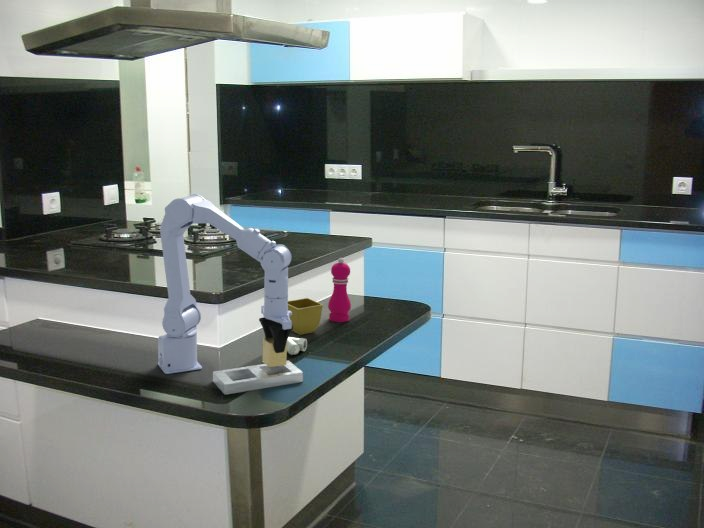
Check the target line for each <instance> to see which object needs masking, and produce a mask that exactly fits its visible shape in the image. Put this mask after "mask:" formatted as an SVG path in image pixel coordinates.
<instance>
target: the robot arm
mask: <svg viewBox="0 0 704 528" xmlns="http://www.w3.org/2000/svg"><path fill="white" fill-rule="evenodd" d="M193 224H194V225H195V224H209V225H210V226H212V227H214V228H215V229H217V230H219V231H221V232H222V233H223V234H225V235H227V236H228V237H230V238H232V239H234V240H235V241H236V244H237V245H236V246H237V248H238V249H239V250H241V251H242V252H244V253H246V255H248V256H250V257H251V258H253V259H254V260H256V261H258V262H260V266H261V267H262V269H263V271H264V280H263V281H264V283H263V284H264V287H263V290H264V292H263V293H264V295H263V296H264V297H263V298H264V299H263V300H264V301H263V302H264V303H263V305H261V306H260V308H261V309H260V312H261V314H262V315H263V316H262V317H260V318H259V319H258V320H259V323H260V325H261V327H262V329H263V330H262V331H263V333H264V338H268V337H273V341H274V349H275V352H276V353H282V352H284V350H285V346H286V343H287V339H288V337H290V335H291V333H292V332H293V331H292V330H293V325H292V321H291V320H290V318H289V315H292V312H291V311H288V301H289V267H288V266H289V265H290V264H291V262H292V256H293V255H292V253H291V251H290V250H289V248H288V247H287V246H286V245H284V244H277V242H276V241H274V240H272V241H271V240H270V239H269V238H267V237H266V236H264V235H263V234H262V233H261V230H260V229H259V228H253V227H248V228H247V227H246V228H244V227H243V226H241V225H240V224H239V223H237V221H235V220H233V219H232V218H231V217H229V216H228V215H227V214H226V213H224V212H223V211H221V210H220V209H219V208H218V207H216V206H215V205H214V203H212V201H210V200H209V199H205V198H204V197H203V196H202V195H200V194H197V193H196V194H194V193H193V194H191V195H188V196H185V197H181V198H179V197H178V198H175V199H173V200H172V201H170V202H169V204H167V205H165V207H164V215H163V218H162V222H161V224H160V227H159V232H160V241H161V249H162V250H161V251H162V255H163V262H164V263H163V264H164V271H165V279H166V281H165V282H166V287H167V297H168V299H167V301H166V303H165V306H164V307H163V313H164V315H163V318H162V322H161V325H162V329H163V330H164V332H165V333H166V334H164V335H159V336H158V339H157V356H158V357H157V358H158V362H157V365H158V366H159V368H160V370H162V372H163V374H165V375H169V374H176V373H183V372H190V371H197V370H202V369H203V366H202V365H201V364H200V362H198V344H197V343H198V340H197V339H198V337H197V333H198V332H197V329H198V328H197V326H198V325H199V324H200V322H201V320H202V314H201V311H200V309H199V307H198V306H197V299H196V298H195V297H194V296H193V295H192V294H191V287H190V279H189V271H188V263H187V255H186V245H185V238H184V233H185V232H186V231H187V230H188V229H189V228H190V227H191V226H192V225H193Z"/></svg>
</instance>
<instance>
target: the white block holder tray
mask: <svg viewBox="0 0 704 528" xmlns="http://www.w3.org/2000/svg"><path fill="white" fill-rule="evenodd" d="M303 381H304V372H303V371H302V370H301V369H300V368H298V367H297V366H296V365H295V364H294V363H293V362H292V361H290V360H286V365H282V366H274V367H269V366H267V365H266V364H265V363H262V364H257V365H255V364H254V365H247V366H242V367H234V368H228V369H222V370H214V371H212V382H213V383H214V384H215V385H216V386H217V388H218V389H219V391H221V393H222V394H224V395H230V394H231V395H232V394H237V393H244V392H250V391H256V390H262V389H267V388H275V387H280V386H285V385H286V386H287V385H291V384H298V383H302V382H303ZM303 383H304V382H303Z"/></svg>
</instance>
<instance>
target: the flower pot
mask: <svg viewBox="0 0 704 528" xmlns="http://www.w3.org/2000/svg"><path fill="white" fill-rule="evenodd" d="M323 307H324V306H323V303H320V302H318V301H315V300H313V299H311V298H309V297H305V298H298V299H294V300H288V311H291V312H292V315H289V318H290V320H291V321H292V325H293V330H292V331H291V332H293V331H294V333H295V334H297V335H298V336H302V335H305V334H312V333H314V332H316V330H317V328H318V327H319V324H320V321H321V318H322V311H323Z"/></svg>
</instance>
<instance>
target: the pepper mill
mask: <svg viewBox="0 0 704 528" xmlns="http://www.w3.org/2000/svg"><path fill="white" fill-rule="evenodd" d="M337 261H338V262H337V263H334V264H333V265H332V266H331V269H330V272H331V273H330V274H331V275H332V276H333V277H332V280H331V281H332V284H333V290H332V294H331V296H330V298H329V301H328V304H327V305H328V306H327V308H328V310H329V311H330V313H329V317H328V318H329V321H331V322H335V323H346V322H348V321H349V320H350V314H349V312H350V311H351V309H352V304H351V300H350V297H349V295H348V291H347V286H348V283H349V276H350V274H351V268H350V266H349V265H348V264H347V263H346V262H345V260H344V258H343V257H339V258H338V260H337Z"/></svg>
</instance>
